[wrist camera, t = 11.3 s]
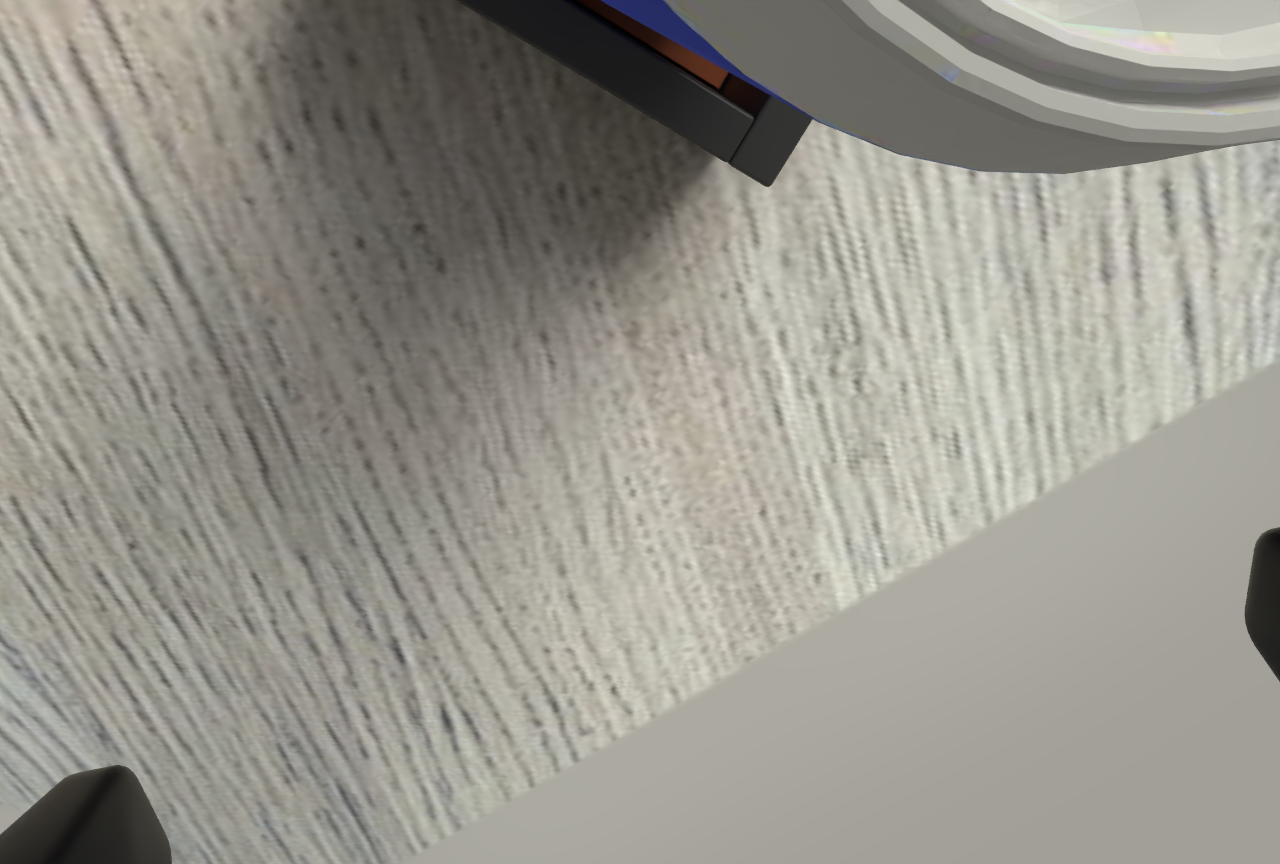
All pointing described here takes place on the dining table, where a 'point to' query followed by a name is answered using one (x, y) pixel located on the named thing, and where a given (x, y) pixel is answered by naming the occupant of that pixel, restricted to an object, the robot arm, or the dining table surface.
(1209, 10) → the beverage can
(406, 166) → the dining table surface
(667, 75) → the holder
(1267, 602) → the robot arm
